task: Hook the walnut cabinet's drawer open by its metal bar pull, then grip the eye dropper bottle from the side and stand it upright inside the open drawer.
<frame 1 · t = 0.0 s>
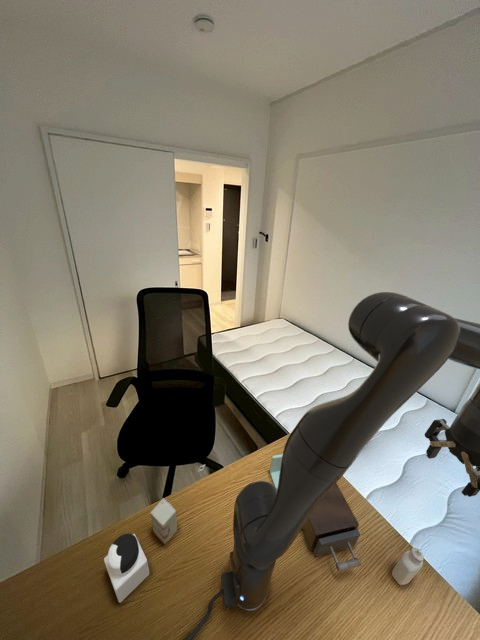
hand: (447, 474, 56), 29 cm above the table, tool pointing down, fingers open, 8 cm apart
eye dropper bottle: (401, 574, 62), on the table
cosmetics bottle: (165, 531, 66), on the table
cabinet: (317, 515, 73), on the table
white block with dome: (129, 573, 59), on the table
drawer: (329, 525, 67), point 4 cm above the table, slide at 0.5 cm
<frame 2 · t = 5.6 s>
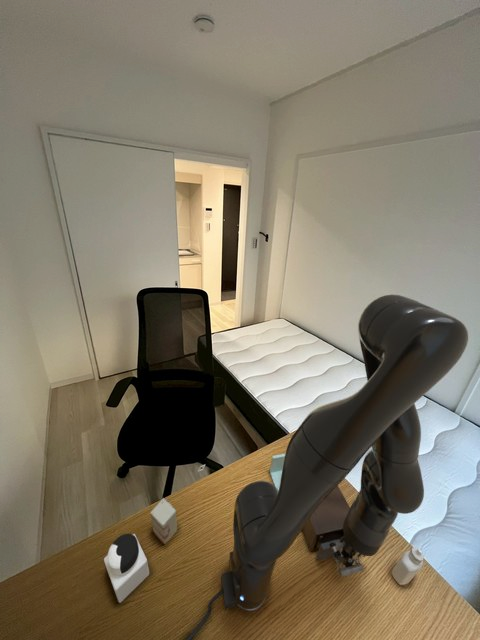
hand: (345, 561, 60), 4 cm above the table, tool pointing down, fingers closed
drawer: (331, 530, 66), point 4 cm above the table, slide at 1.5 cm
everything else where it was.
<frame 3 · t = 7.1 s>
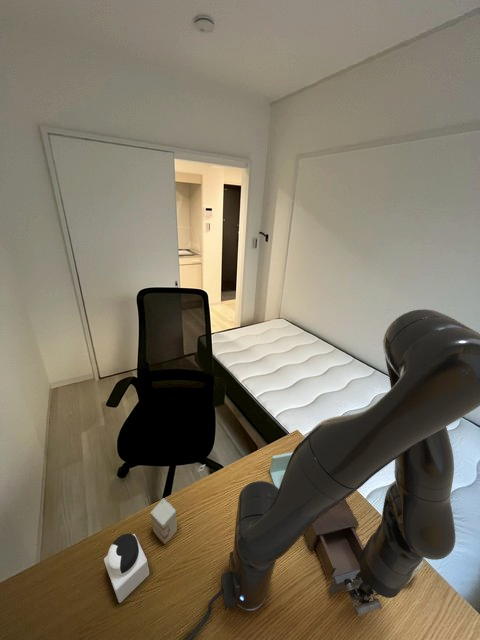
hand: (361, 597, 55), 4 cm above the table, tool pointing down, fingers closed
drawer: (344, 559, 61), point 4 cm above the table, slide at 7.6 cm
everything else where it was.
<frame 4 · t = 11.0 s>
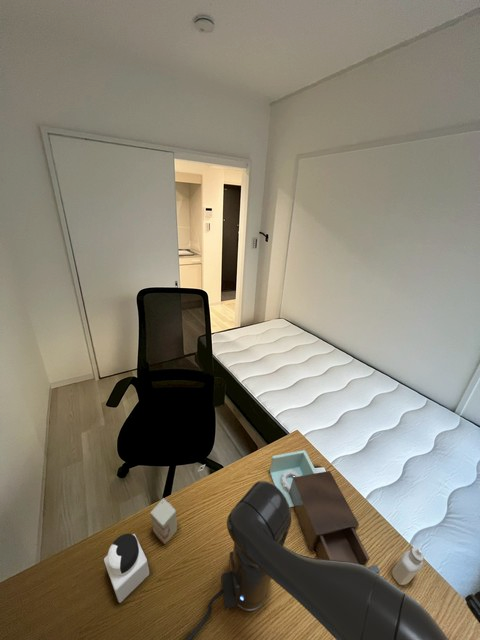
hand: (473, 594, 46), 18 cm above the table, tool horizontal, fingers closed
nothing on the table moved.
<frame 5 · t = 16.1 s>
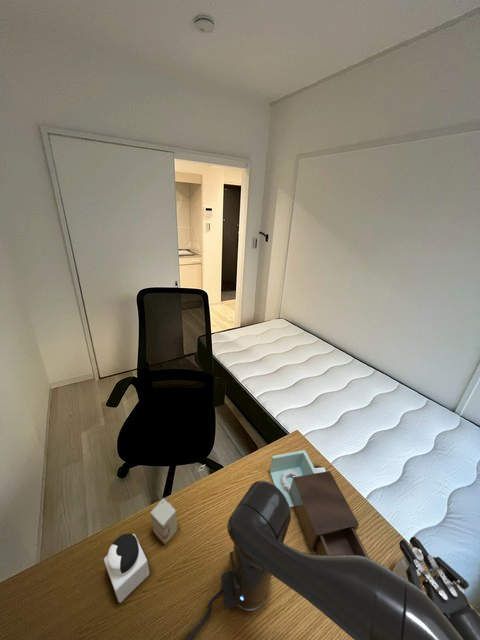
hand: (406, 540, 60), 10 cm above the table, tool horizontal, fingers closed on eye dropper bottle, 2 cm apart
eye dropper bottle: (401, 574, 62), on the table, touching gripper
everything else where it was.
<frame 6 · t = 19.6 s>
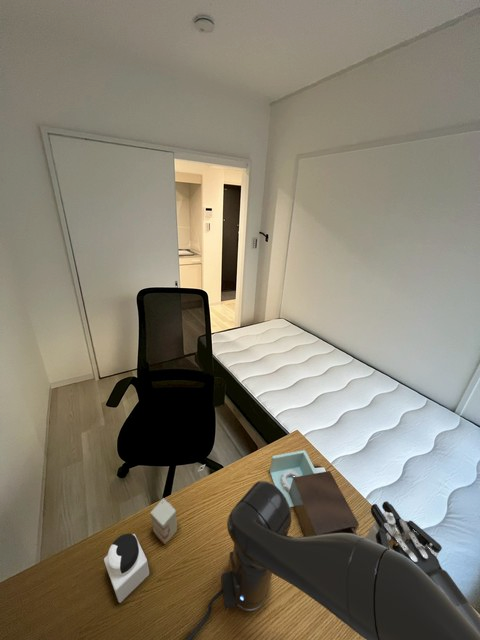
hand: (378, 505, 56), 22 cm above the table, tool horizontal, fingers closed on eye dropper bottle, 2 cm apart
eye dropper bottle: (374, 543, 58), point 11 cm above the table, touching gripper
everything else where it was.
when the fingers open (12 cm above the table, at t = 23.3 s): eye dropper bottle stays where it is, resting on drawer.
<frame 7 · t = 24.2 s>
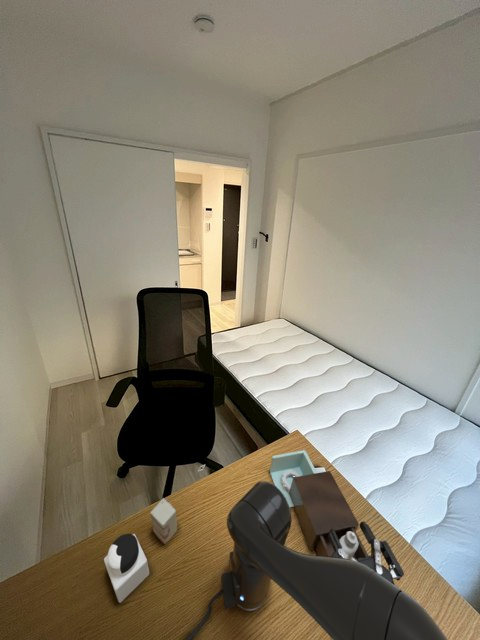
hand: (346, 526, 60), 13 cm above the table, tool horizontal, fingers open, 8 cm apart
eye dropper bottle: (340, 558, 62), point 2 cm above the table, touching drawer
drawer: (344, 558, 61), point 4 cm above the table, slide at 7.5 cm, touching eye dropper bottle
everything else where it was.
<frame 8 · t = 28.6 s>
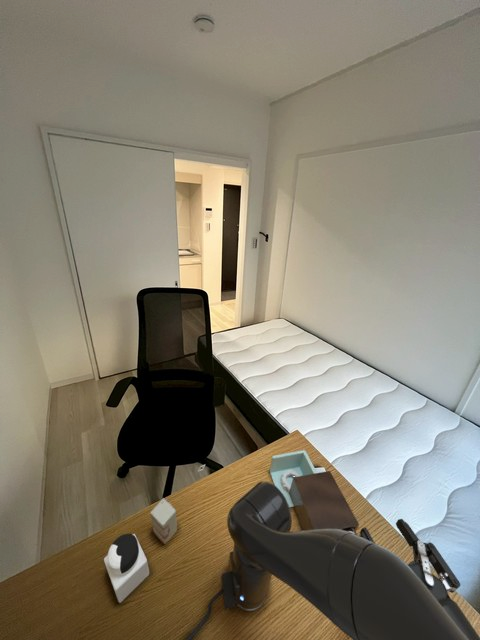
hand: (380, 525, 49), 26 cm above the table, tool horizontal, fingers open, 8 cm apart
nothing on the table moved.
at the end: drawer slide at 7.5 cm; eye dropper bottle inside the target area in the drawer (0.1 cm from its centre), point 1.8 cm above the cabinet's base; eye dropper bottle tilted 0° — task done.
